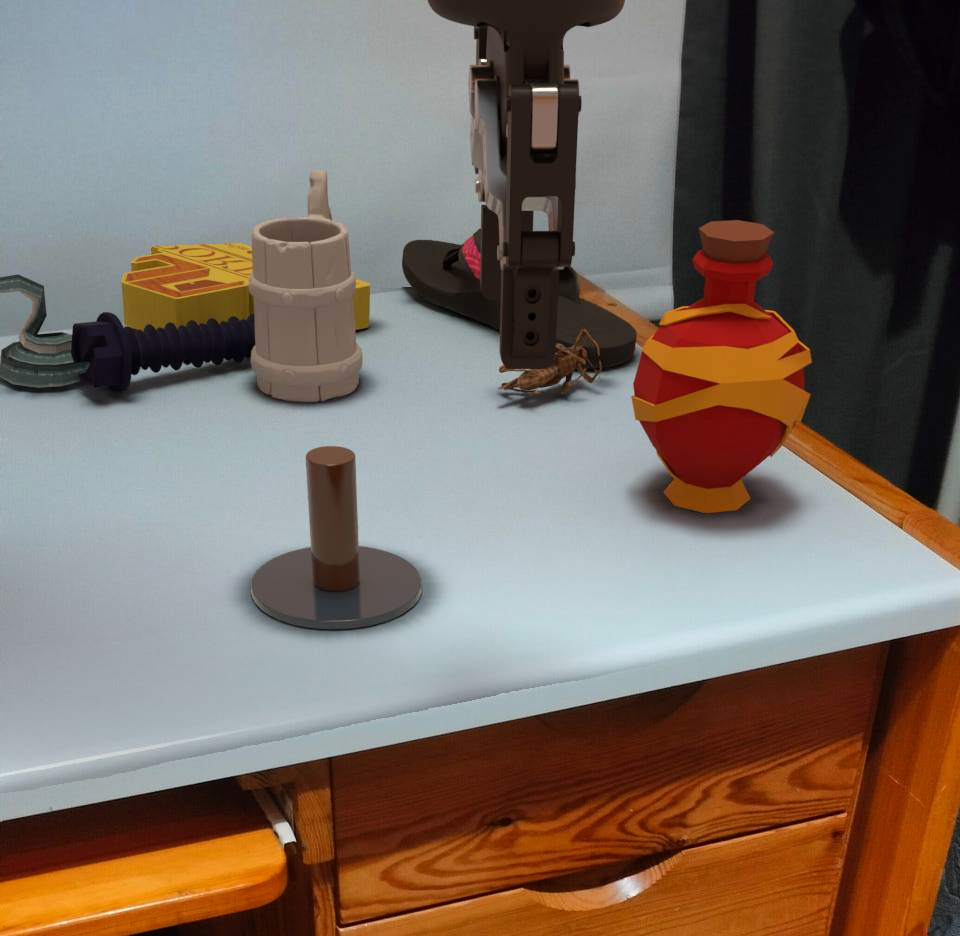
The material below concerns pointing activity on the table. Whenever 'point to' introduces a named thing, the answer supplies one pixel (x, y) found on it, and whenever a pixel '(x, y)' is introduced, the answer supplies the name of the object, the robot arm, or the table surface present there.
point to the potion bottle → (721, 375)
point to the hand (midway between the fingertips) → (515, 330)
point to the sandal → (456, 285)
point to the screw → (155, 347)
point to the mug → (304, 304)
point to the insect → (554, 369)
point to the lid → (335, 560)
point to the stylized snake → (37, 345)
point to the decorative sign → (200, 286)
